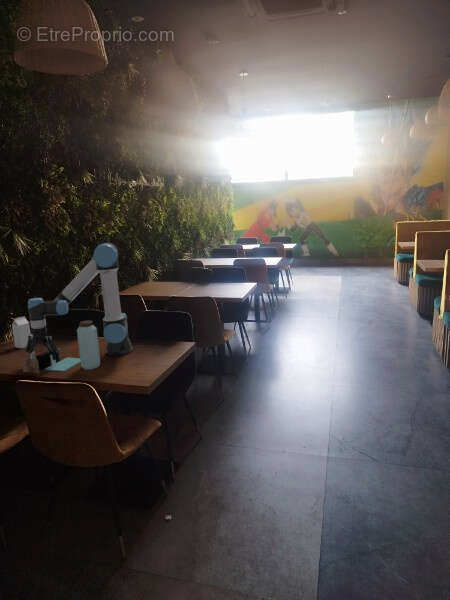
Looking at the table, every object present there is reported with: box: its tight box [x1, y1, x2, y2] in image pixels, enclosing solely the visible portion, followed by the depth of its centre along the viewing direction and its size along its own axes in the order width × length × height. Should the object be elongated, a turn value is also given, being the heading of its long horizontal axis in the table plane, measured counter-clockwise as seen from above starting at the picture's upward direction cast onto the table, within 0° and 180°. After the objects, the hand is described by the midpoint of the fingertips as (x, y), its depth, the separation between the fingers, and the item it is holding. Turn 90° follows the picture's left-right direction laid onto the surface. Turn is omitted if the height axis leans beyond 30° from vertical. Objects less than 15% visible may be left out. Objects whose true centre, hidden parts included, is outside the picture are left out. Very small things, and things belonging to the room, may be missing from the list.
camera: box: [35, 351, 59, 371], centre depth 227 cm, size 14×7×8 cm, turn 153°
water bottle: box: [76, 320, 101, 371], centre depth 220 cm, size 10×10×25 cm
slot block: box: [21, 347, 63, 374], centre depth 226 cm, size 9×20×7 cm, turn 164°
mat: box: [44, 357, 81, 373], centre depth 227 cm, size 12×18×1 cm, turn 163°
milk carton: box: [11, 315, 32, 349], centre depth 261 cm, size 7×7×19 cm
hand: (43, 364), depth 226 cm, fingers open, 12 cm apart
